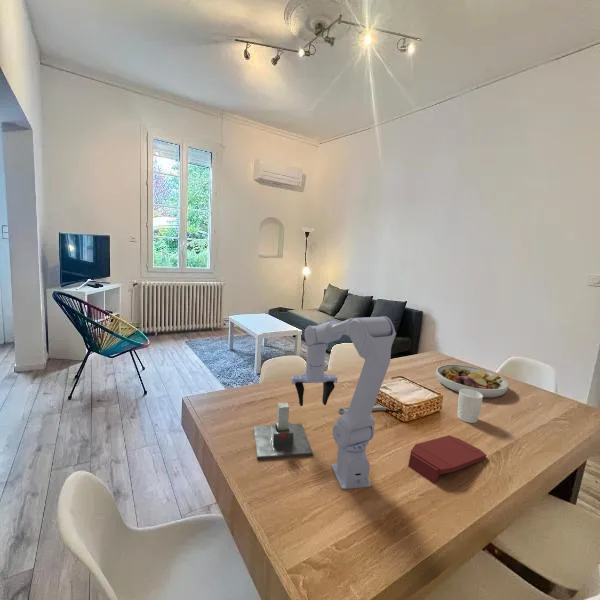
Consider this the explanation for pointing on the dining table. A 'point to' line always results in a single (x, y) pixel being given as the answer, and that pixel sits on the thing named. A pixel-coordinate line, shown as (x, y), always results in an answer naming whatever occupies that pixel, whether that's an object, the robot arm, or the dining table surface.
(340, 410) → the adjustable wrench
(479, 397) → the white cup
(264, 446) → the stand
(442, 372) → the bowl
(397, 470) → the dining table surface
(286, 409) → the post
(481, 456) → the dark red bent panel
